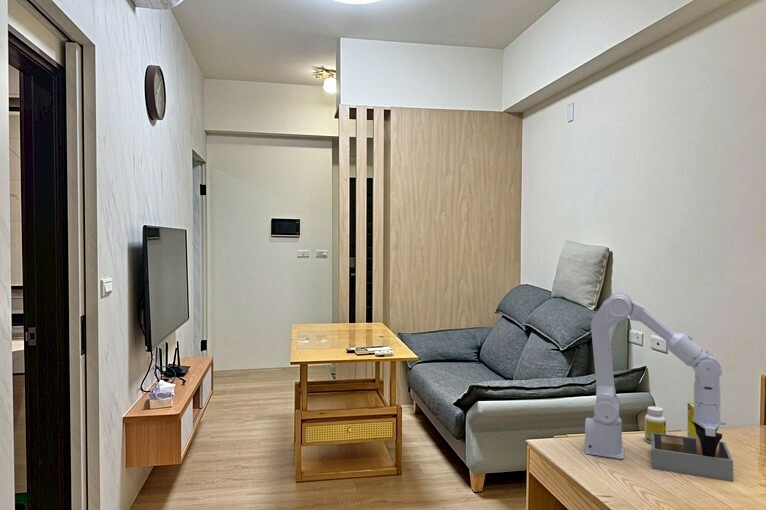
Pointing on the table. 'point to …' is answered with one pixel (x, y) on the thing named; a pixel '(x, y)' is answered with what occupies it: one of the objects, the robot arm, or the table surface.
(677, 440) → the walnut cube
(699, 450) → the terracotta cylinder
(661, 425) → the supplement bottle
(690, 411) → the supplement box
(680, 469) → the tote
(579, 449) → the table surface
